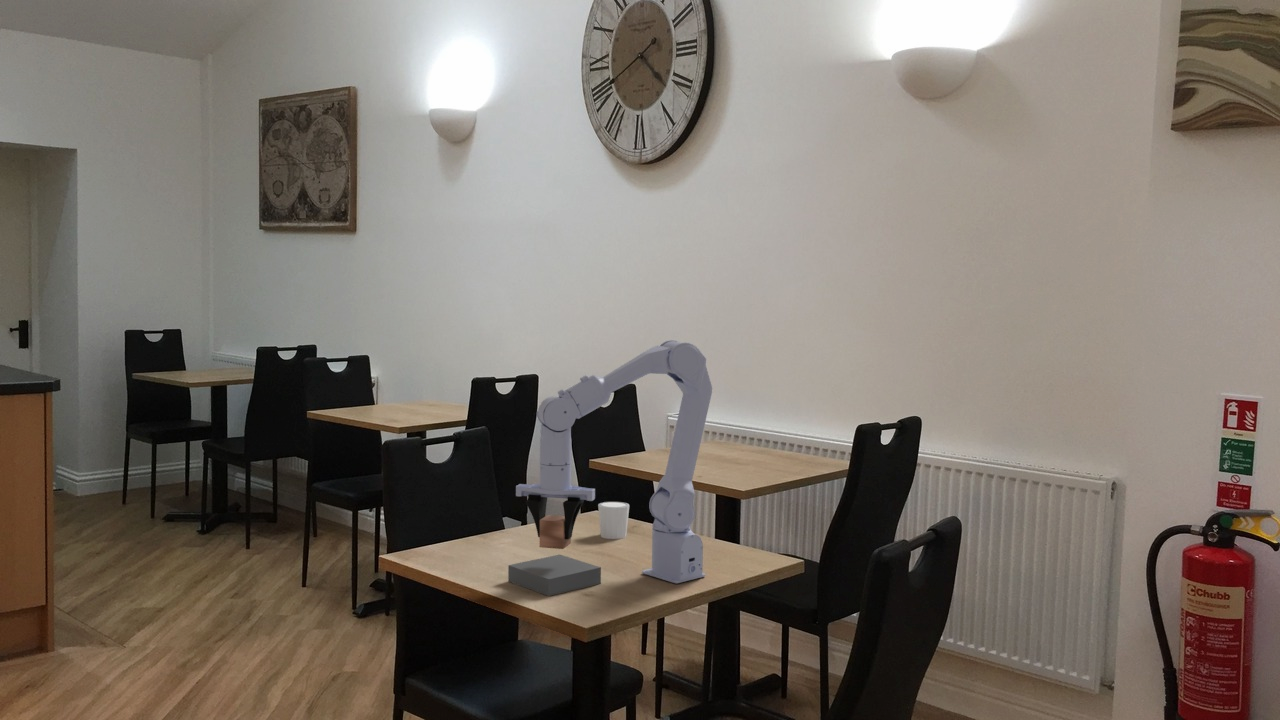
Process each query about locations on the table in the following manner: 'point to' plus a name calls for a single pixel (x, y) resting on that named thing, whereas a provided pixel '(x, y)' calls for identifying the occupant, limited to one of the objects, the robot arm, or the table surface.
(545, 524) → the terracotta cube
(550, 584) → the charcoal plinth
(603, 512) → the white tapered cylinder
